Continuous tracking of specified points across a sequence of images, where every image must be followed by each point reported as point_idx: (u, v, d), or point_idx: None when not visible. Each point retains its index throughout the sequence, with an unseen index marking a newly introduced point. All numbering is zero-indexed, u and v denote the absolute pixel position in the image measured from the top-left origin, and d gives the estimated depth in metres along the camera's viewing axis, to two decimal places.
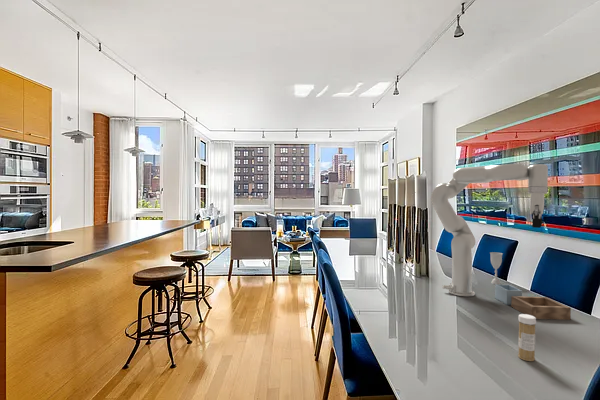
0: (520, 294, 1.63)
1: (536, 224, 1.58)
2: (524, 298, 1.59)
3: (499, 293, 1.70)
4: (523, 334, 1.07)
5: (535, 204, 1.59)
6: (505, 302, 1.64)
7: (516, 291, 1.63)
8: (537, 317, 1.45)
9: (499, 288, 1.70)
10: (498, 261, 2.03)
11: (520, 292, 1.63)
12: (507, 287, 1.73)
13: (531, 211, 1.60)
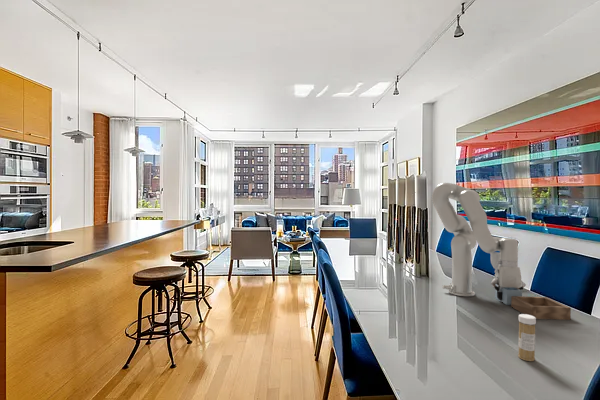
0: (520, 294, 1.63)
1: None
2: (524, 298, 1.59)
3: None
4: (523, 334, 1.07)
5: None
6: (505, 302, 1.64)
7: (516, 291, 1.63)
8: (537, 317, 1.45)
9: None
10: None
11: (520, 292, 1.63)
12: None
13: None
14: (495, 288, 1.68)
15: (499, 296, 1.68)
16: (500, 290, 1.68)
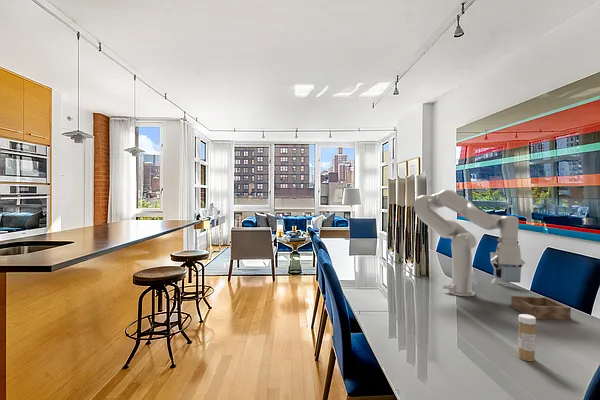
0: (519, 271, 1.63)
1: None
2: (524, 298, 1.59)
3: None
4: (523, 334, 1.07)
5: None
6: (503, 279, 1.65)
7: (515, 268, 1.63)
8: (537, 317, 1.45)
9: None
10: None
11: (519, 269, 1.63)
12: (506, 265, 1.74)
13: None
14: (494, 265, 1.69)
15: (498, 273, 1.68)
16: (499, 267, 1.68)
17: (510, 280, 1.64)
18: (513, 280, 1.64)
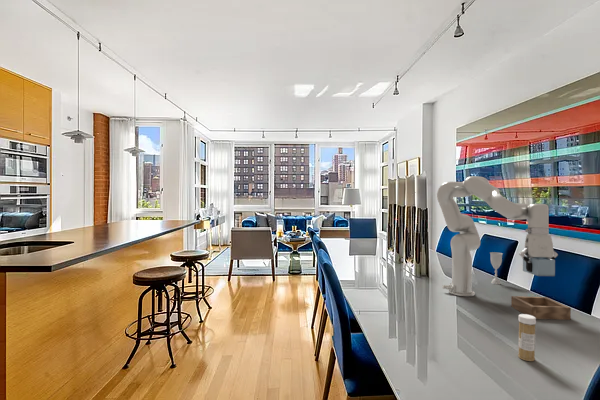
0: (553, 264, 1.48)
1: None
2: (524, 298, 1.59)
3: None
4: (523, 334, 1.07)
5: None
6: (536, 273, 1.49)
7: (548, 260, 1.48)
8: (537, 317, 1.45)
9: None
10: (498, 261, 2.03)
11: (553, 261, 1.48)
12: (536, 258, 1.58)
13: None
14: (524, 259, 1.53)
15: (529, 267, 1.53)
16: (530, 261, 1.52)
17: (544, 274, 1.48)
18: (547, 273, 1.48)
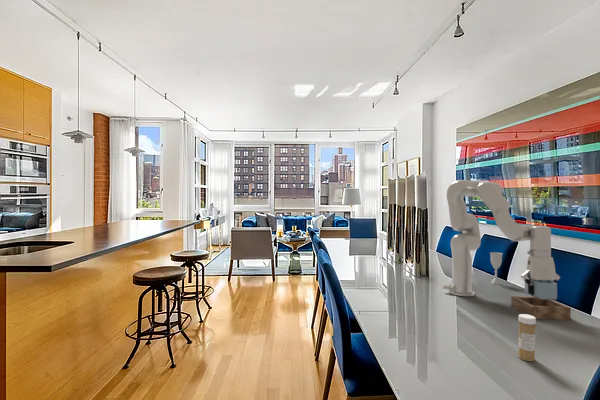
0: (555, 287, 1.46)
1: None
2: (524, 298, 1.59)
3: None
4: (523, 334, 1.07)
5: None
6: (538, 296, 1.48)
7: (550, 284, 1.47)
8: (537, 317, 1.45)
9: None
10: (498, 261, 2.03)
11: (555, 285, 1.46)
12: (538, 280, 1.57)
13: None
14: (526, 281, 1.52)
15: (530, 290, 1.52)
16: (531, 283, 1.51)
17: (545, 297, 1.47)
18: (549, 297, 1.47)
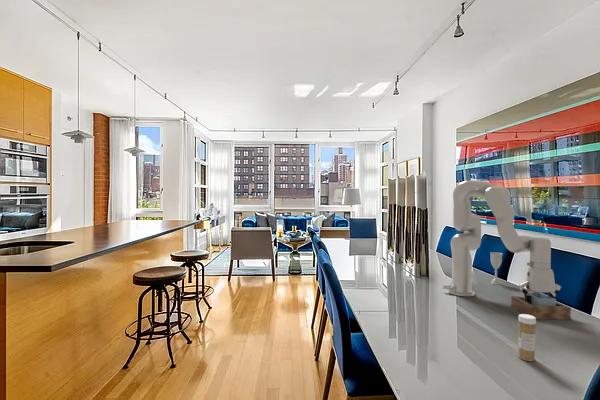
0: (554, 303, 1.47)
1: None
2: None
3: None
4: (523, 334, 1.07)
5: None
6: None
7: (549, 300, 1.47)
8: (537, 317, 1.45)
9: None
10: (498, 261, 2.03)
11: (554, 301, 1.47)
12: (537, 295, 1.57)
13: None
14: (523, 291, 1.52)
15: (527, 300, 1.52)
16: (529, 293, 1.51)
17: None
18: None
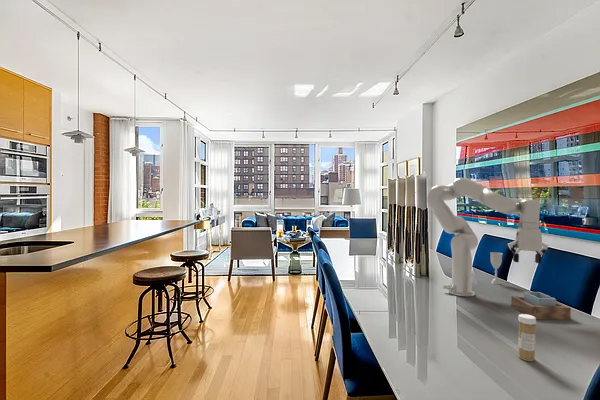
0: (554, 303, 1.47)
1: None
2: None
3: (529, 301, 1.53)
4: (523, 334, 1.07)
5: None
6: None
7: (549, 300, 1.47)
8: (537, 317, 1.45)
9: (529, 296, 1.54)
10: (498, 261, 2.03)
11: (554, 301, 1.47)
12: (537, 295, 1.57)
13: None
14: (511, 249, 1.61)
15: (515, 258, 1.61)
16: (517, 252, 1.60)
17: None
18: None
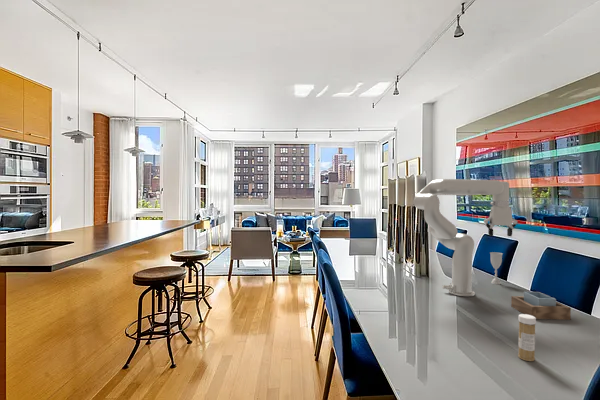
0: (554, 303, 1.47)
1: None
2: None
3: (529, 301, 1.53)
4: (523, 334, 1.07)
5: None
6: None
7: (549, 300, 1.47)
8: (537, 317, 1.45)
9: (529, 296, 1.54)
10: (498, 261, 2.03)
11: (554, 301, 1.47)
12: (537, 295, 1.57)
13: None
14: (486, 225, 1.86)
15: (490, 232, 1.86)
16: (491, 227, 1.85)
17: None
18: None
